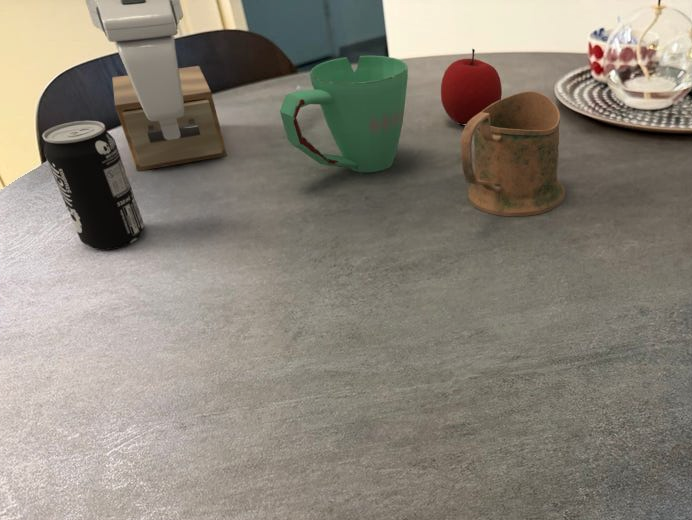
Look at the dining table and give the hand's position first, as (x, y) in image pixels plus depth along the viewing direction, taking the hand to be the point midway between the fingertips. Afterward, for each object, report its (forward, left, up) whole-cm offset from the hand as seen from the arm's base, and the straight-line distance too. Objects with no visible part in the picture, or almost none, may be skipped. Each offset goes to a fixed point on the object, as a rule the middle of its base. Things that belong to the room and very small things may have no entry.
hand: (172, 135), depth 80 cm
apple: (+41, +9, -8) cm, 43 cm away
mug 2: (+33, -19, -8) cm, 39 cm away
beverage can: (-9, -7, -8) cm, 14 cm away
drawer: (0, +15, -7) cm, 16 cm away
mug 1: (+20, -1, -8) cm, 22 cm away
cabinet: (0, +19, -8) cm, 20 cm away
